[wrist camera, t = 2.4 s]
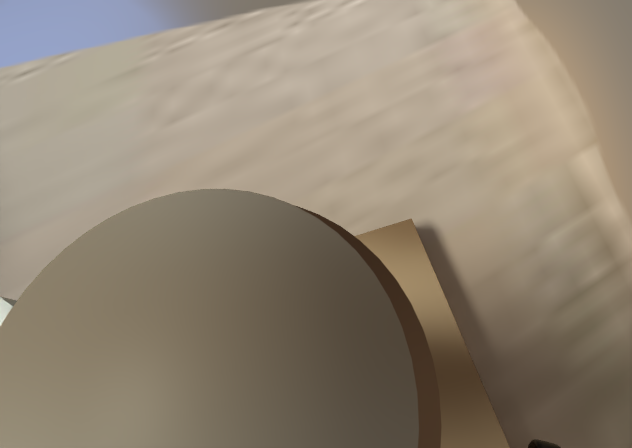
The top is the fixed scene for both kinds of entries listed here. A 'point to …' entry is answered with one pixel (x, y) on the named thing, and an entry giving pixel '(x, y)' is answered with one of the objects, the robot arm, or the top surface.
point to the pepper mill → (216, 336)
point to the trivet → (439, 340)
